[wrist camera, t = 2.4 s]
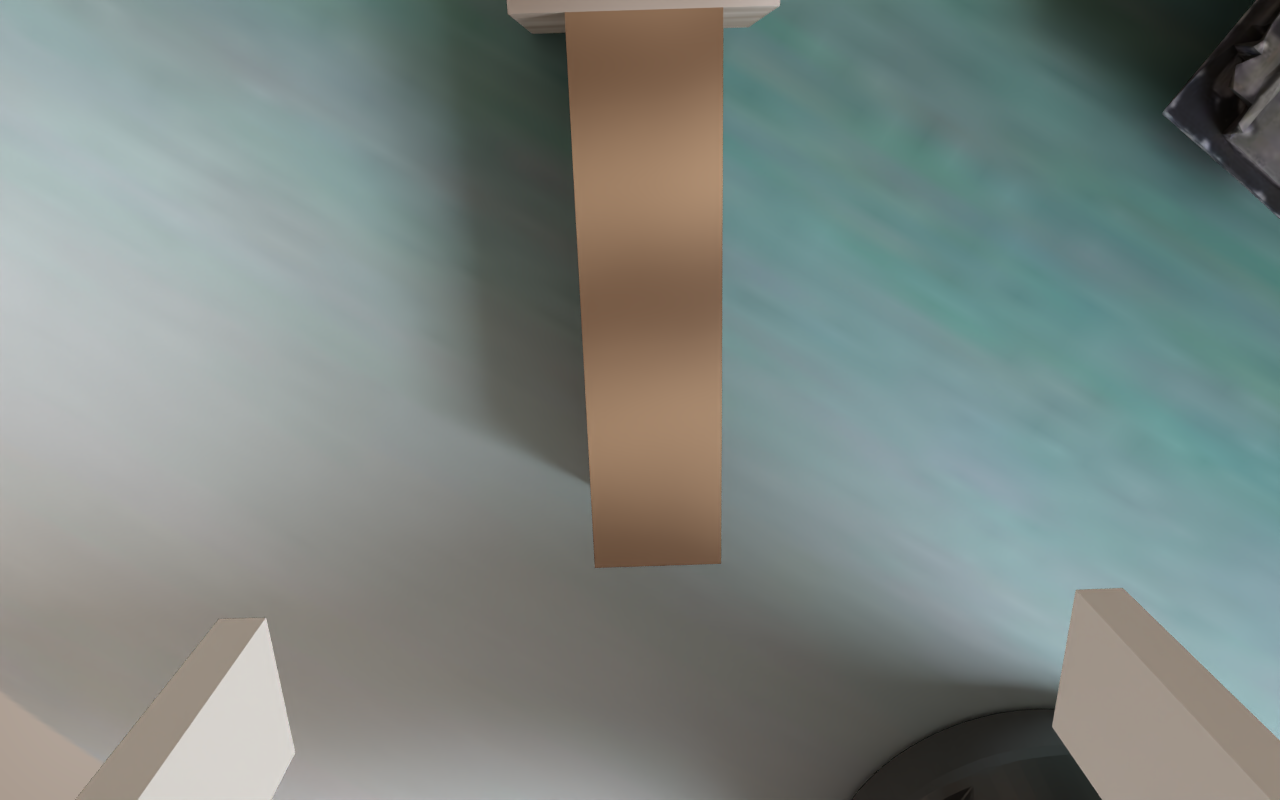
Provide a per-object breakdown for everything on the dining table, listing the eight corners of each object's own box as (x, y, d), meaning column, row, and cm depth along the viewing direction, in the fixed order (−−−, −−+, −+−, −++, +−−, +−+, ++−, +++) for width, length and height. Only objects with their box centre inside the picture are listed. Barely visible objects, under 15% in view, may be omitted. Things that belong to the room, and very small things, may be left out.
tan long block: (742, 484, 27) (766, 562, 23) (563, 490, 27) (549, 569, 23) (749, -21, 22) (781, -56, 18) (529, -15, 22) (503, -48, 18)
